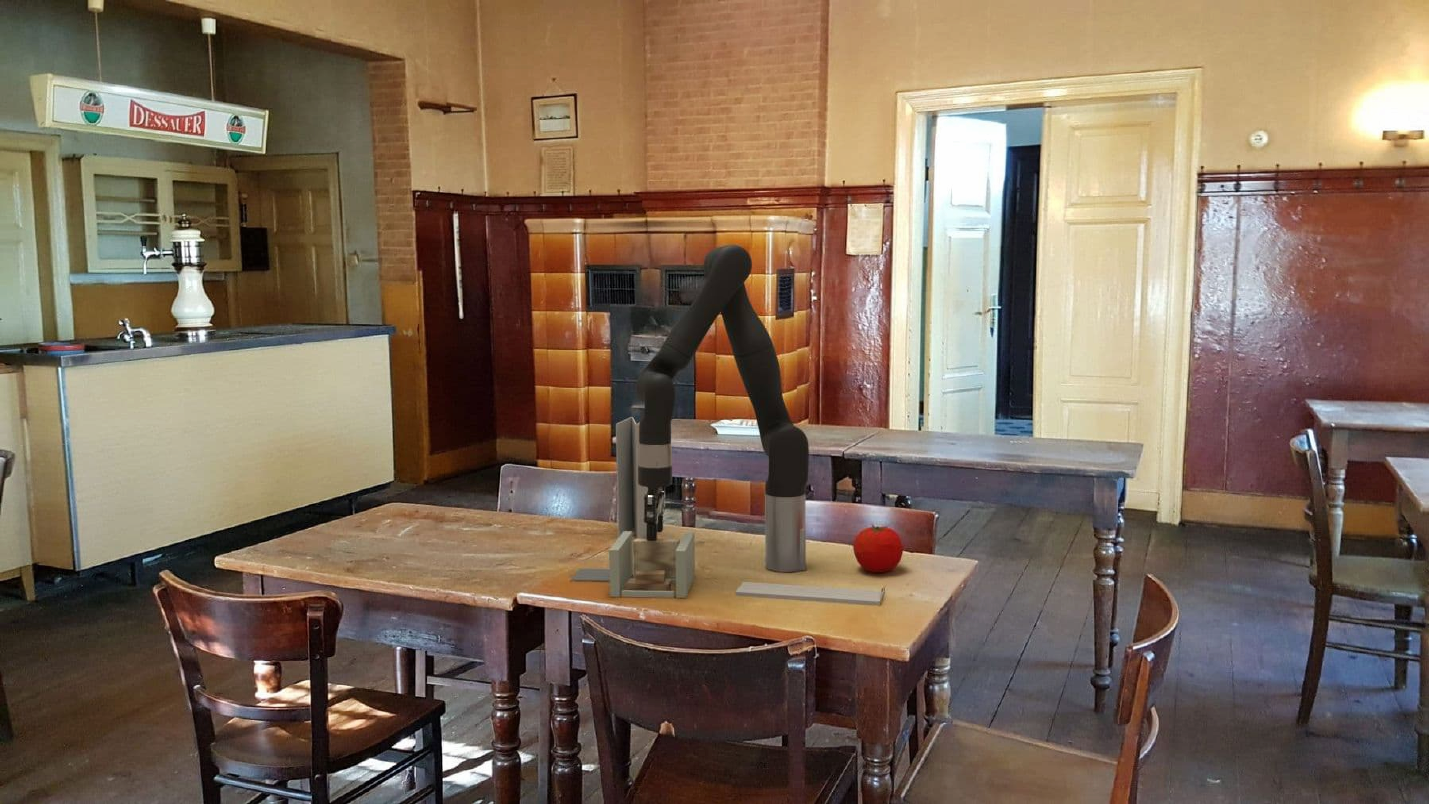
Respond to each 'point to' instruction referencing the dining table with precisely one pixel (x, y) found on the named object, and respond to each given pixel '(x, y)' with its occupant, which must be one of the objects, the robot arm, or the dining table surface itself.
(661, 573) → the offcut top
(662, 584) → the offcut bottom
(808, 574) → the dining table surface
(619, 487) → the brochure
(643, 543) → the tan wooden slab
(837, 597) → the baseboard
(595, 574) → the mat
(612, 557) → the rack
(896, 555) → the tomato
